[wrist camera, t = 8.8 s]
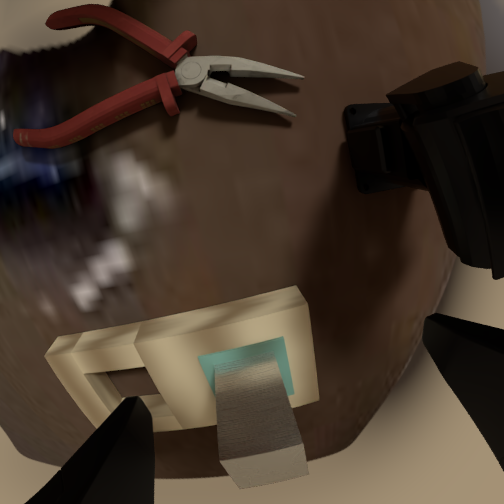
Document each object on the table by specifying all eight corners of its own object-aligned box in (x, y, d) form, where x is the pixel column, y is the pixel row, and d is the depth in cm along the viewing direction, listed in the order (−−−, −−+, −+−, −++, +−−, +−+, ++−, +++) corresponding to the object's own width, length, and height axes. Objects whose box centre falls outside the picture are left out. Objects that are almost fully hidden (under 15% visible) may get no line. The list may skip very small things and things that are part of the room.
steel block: (273, 351, 19) (303, 443, 11) (282, 390, 20) (308, 474, 13) (214, 364, 19) (219, 461, 11) (229, 402, 20) (240, 489, 13)
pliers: (279, 178, 19) (289, 180, 17) (23, 148, 16) (4, 148, 13) (308, 35, 16) (319, 21, 14) (60, 18, 12) (46, 7, 10)
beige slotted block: (295, 285, 21) (308, 305, 18) (309, 378, 24) (319, 401, 21) (57, 336, 20) (43, 357, 17) (107, 412, 23) (100, 434, 20)
